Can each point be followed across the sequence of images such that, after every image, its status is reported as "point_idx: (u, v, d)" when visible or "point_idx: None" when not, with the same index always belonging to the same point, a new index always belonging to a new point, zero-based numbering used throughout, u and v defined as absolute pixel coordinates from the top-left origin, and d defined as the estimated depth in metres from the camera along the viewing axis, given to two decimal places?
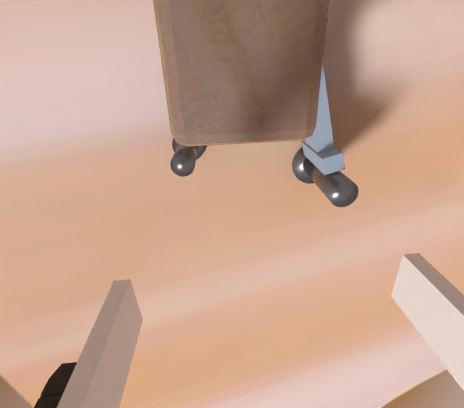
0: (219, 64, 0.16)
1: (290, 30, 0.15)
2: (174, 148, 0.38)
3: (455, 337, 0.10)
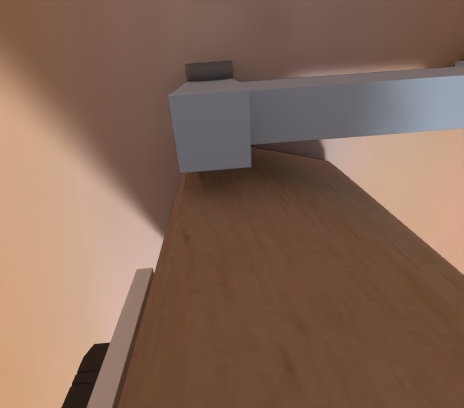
0: None
1: None
2: None
3: None
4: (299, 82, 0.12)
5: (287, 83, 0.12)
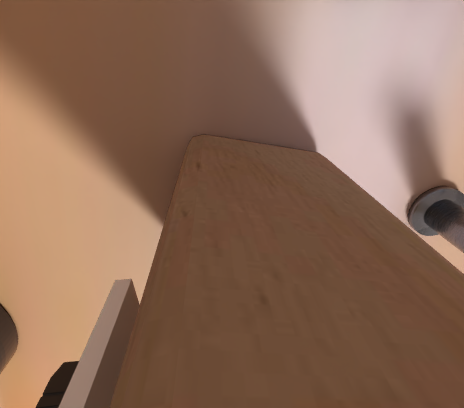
0: None
1: None
2: (430, 233, 0.23)
3: None
4: None
5: None
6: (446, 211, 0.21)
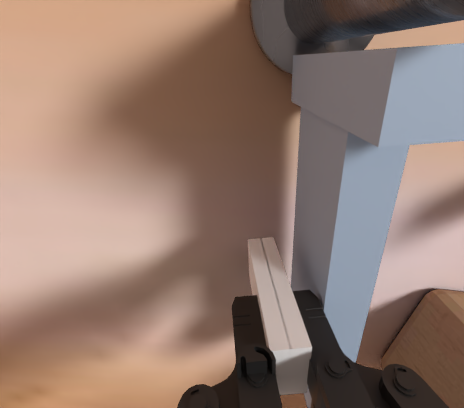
0: None
1: None
2: None
3: None
4: None
5: None
6: None
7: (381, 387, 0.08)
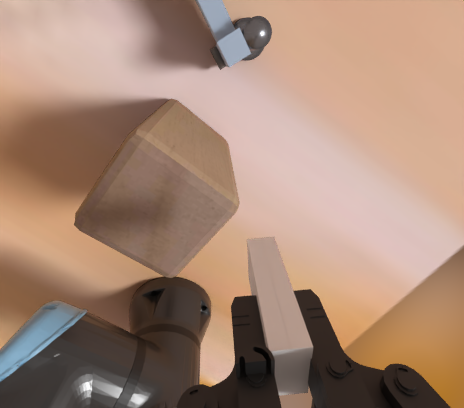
0: (171, 228, 0.22)
1: (114, 214, 0.21)
2: (260, 49, 0.33)
3: None
4: (204, 16, 0.28)
5: (207, 22, 0.28)
6: None
7: (382, 387, 0.08)
